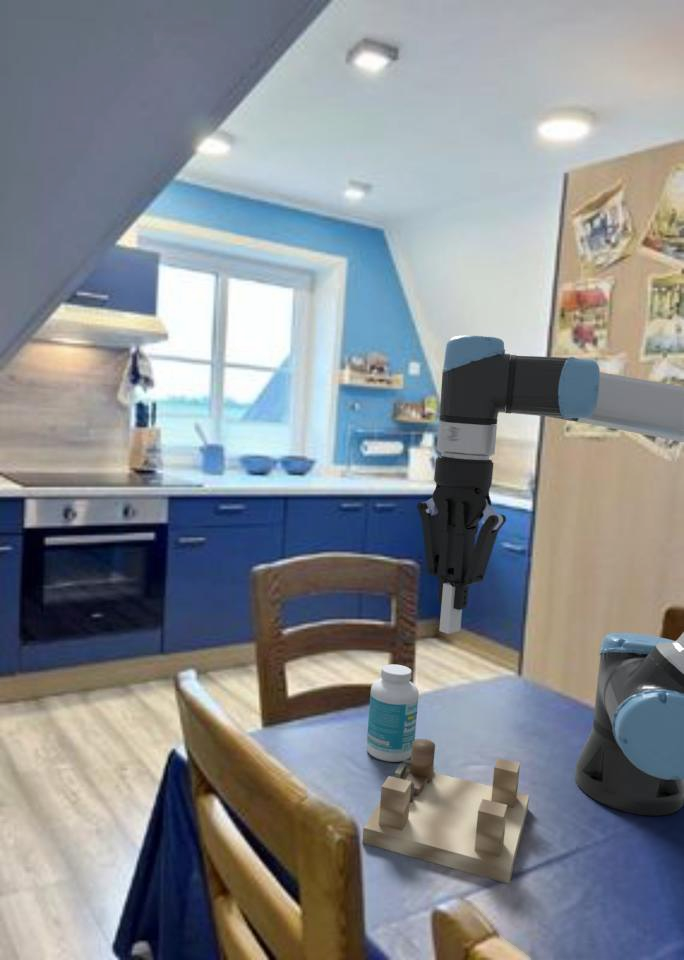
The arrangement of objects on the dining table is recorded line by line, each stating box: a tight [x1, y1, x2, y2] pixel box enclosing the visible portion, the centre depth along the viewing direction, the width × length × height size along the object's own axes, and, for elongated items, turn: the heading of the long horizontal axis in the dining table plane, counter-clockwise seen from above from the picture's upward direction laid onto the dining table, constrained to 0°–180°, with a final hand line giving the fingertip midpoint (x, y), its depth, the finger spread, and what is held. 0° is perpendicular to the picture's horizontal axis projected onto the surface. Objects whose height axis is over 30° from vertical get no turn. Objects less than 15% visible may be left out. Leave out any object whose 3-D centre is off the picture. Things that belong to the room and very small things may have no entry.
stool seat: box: [361, 757, 530, 885], centre depth 99 cm, size 18×18×7 cm
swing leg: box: [406, 738, 436, 795], centre depth 105 cm, size 6×3×5 cm, turn 156°
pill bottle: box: [366, 663, 420, 763], centre depth 118 cm, size 8×7×14 cm
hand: (449, 630), depth 102 cm, fingers closed
